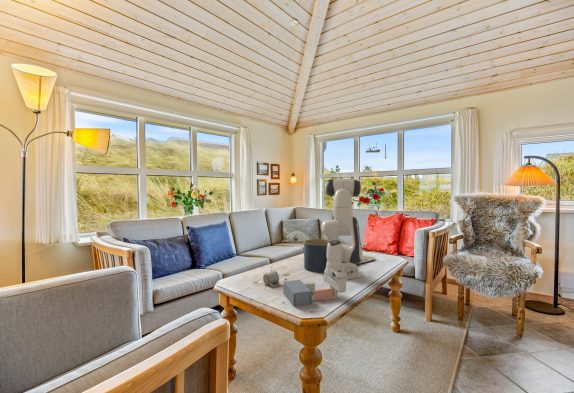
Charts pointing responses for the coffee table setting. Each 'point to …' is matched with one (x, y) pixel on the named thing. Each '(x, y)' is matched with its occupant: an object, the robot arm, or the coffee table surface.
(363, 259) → the newspaper
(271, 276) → the ceramic mug
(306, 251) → the planter
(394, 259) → the coffee table surface
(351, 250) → the robot arm
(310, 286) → the mint green upright slab
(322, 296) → the pink stick
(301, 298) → the grey rectangular block
